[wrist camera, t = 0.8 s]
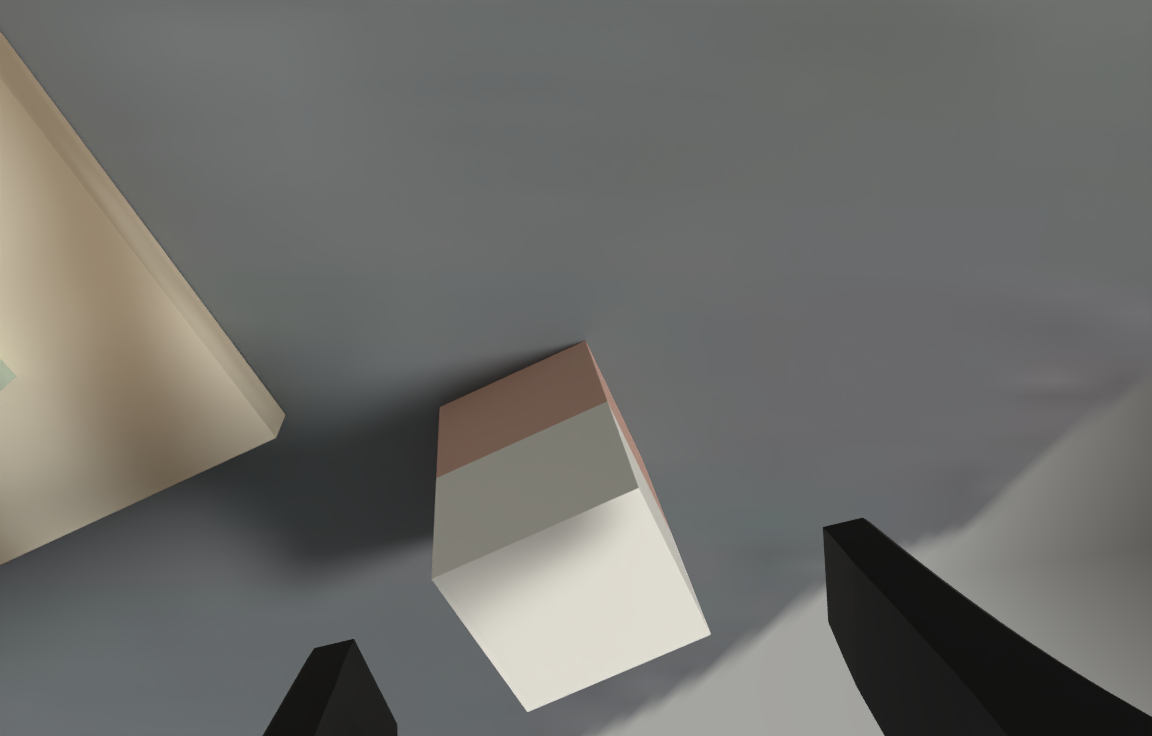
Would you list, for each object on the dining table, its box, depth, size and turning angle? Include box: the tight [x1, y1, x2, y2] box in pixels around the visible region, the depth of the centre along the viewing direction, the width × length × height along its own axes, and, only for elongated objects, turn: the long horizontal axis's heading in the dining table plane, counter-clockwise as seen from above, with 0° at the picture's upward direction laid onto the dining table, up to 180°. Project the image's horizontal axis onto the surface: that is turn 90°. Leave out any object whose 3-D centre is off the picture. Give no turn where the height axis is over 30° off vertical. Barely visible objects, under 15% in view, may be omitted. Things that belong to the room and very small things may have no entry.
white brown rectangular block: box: [432, 341, 711, 712], centre depth 19 cm, size 4×4×7 cm
